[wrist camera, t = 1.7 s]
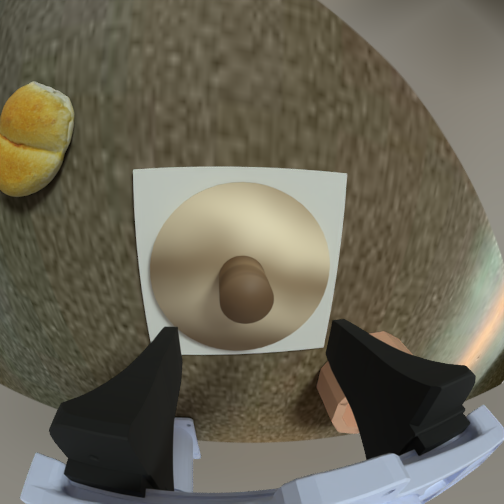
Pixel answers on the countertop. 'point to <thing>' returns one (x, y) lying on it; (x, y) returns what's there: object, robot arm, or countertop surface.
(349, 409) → the bowl
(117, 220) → the countertop surface
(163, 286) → the lid
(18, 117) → the bread roll
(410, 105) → the countertop surface
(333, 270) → the mat
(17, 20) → the countertop surface
